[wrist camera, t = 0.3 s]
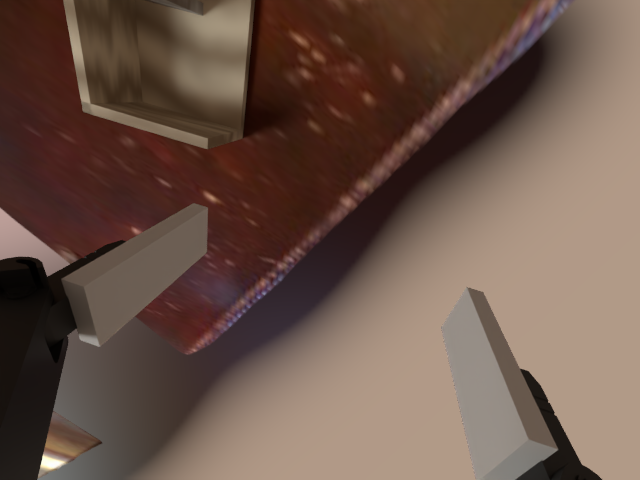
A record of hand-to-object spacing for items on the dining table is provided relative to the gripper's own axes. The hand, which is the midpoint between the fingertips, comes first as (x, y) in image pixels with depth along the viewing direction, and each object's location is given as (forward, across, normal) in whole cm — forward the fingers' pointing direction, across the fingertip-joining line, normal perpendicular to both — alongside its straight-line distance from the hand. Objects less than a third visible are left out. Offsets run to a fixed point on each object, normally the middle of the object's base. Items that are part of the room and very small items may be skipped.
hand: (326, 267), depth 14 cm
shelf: (+27, -25, +8) cm, 38 cm away
